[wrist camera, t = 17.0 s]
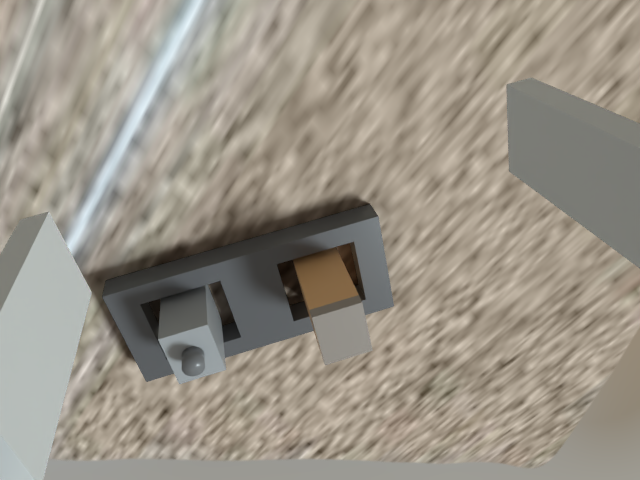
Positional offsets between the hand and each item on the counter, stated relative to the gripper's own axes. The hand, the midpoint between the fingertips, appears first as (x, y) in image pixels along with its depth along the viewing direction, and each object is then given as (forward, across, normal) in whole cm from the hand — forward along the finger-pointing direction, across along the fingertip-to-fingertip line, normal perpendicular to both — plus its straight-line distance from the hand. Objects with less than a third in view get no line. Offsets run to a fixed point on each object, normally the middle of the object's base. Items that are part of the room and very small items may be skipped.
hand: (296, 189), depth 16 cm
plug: (+29, +2, -22) cm, 36 cm away
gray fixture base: (+29, -4, -22) cm, 36 cm away
